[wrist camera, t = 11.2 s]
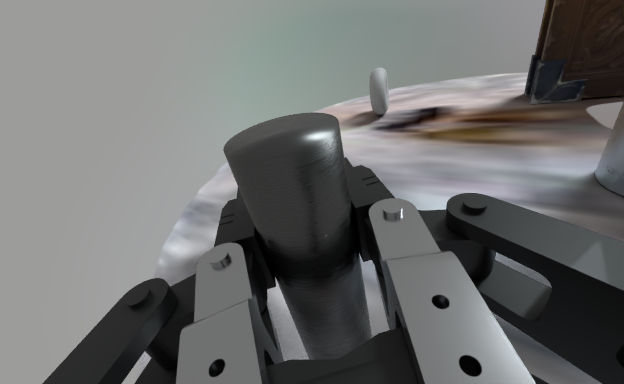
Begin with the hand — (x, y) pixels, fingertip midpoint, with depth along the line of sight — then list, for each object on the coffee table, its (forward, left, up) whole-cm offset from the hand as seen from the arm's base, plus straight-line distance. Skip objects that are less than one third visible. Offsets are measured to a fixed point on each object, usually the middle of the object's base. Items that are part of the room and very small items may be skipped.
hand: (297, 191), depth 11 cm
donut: (-23, -50, -15) cm, 57 cm away
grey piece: (0, -5, -9) cm, 11 cm away
